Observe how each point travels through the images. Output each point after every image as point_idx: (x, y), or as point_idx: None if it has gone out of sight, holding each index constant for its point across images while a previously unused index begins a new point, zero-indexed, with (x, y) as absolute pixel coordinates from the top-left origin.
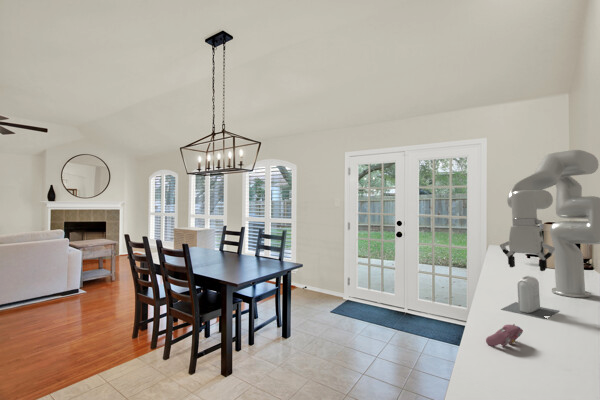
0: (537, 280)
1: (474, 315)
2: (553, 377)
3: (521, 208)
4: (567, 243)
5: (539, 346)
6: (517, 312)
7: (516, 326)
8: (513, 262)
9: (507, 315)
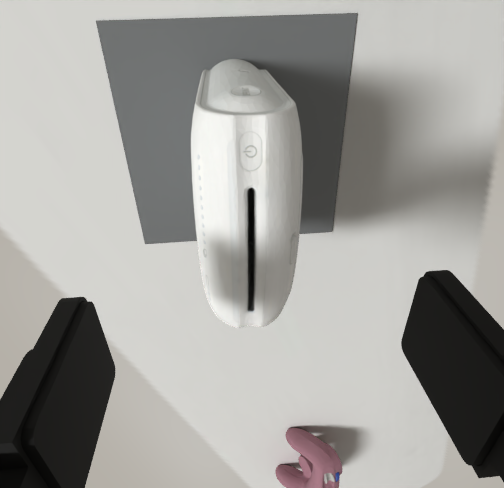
0: (299, 141)
1: (139, 367)
2: (395, 476)
3: None
4: None
5: (359, 416)
6: None
7: (335, 486)
8: (84, 379)
9: None
